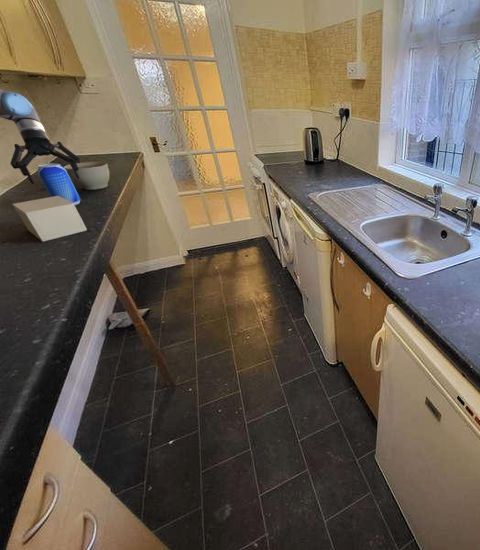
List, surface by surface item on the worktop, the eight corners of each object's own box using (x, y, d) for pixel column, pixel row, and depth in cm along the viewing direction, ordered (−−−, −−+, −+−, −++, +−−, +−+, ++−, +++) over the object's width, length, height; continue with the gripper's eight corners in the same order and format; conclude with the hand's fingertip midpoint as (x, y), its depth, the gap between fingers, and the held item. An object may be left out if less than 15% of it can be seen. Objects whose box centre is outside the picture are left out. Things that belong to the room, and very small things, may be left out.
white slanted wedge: (29, 231, 101) (12, 203, 96) (71, 221, 109) (58, 195, 104) (42, 241, 94) (25, 213, 89) (87, 230, 103) (73, 203, 98)
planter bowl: (72, 193, 138) (60, 169, 133) (78, 186, 150) (67, 163, 144) (114, 189, 146) (104, 166, 140) (117, 182, 157) (108, 160, 152)
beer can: (57, 208, 120) (34, 168, 112) (54, 204, 125) (32, 165, 117) (83, 204, 126) (64, 165, 117) (80, 200, 130) (61, 162, 122)
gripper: (76, 139, 131) (96, 179, 130) (-7, 143, 116) (15, 189, 115) (71, 126, 125) (92, 169, 124) (-17, 129, 110) (6, 178, 109)
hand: (55, 179), depth 119 cm, fingers open, 13 cm apart
